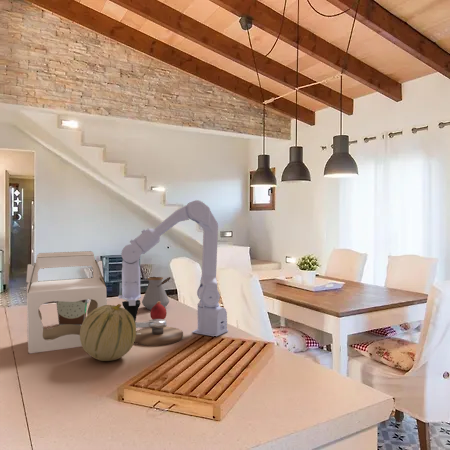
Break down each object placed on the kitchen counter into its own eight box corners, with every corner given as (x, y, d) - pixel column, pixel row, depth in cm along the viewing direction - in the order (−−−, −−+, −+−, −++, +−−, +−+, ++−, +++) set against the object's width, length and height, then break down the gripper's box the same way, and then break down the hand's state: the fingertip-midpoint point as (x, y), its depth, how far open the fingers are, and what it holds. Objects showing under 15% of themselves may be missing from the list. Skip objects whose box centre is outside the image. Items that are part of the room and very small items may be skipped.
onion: (158, 326, 145) (157, 303, 145) (147, 323, 149) (146, 301, 149) (169, 323, 150) (169, 301, 150) (158, 320, 153) (158, 299, 153)
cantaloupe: (79, 354, 116) (79, 301, 116) (132, 348, 121) (132, 297, 121) (80, 372, 102) (80, 312, 102) (140, 364, 107) (140, 307, 107)
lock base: (192, 335, 134) (192, 324, 134) (160, 348, 120) (160, 336, 120) (155, 328, 142) (155, 318, 142) (121, 340, 129) (121, 329, 129)
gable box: (27, 354, 116) (26, 255, 116) (26, 341, 128) (25, 252, 128) (107, 343, 126) (107, 252, 126) (100, 332, 138) (99, 249, 138)
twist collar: (165, 323, 134) (165, 317, 134) (167, 327, 129) (167, 321, 129) (120, 326, 131) (120, 320, 131) (120, 331, 126) (120, 324, 125)
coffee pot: (138, 307, 177) (137, 272, 177) (162, 304, 183) (162, 270, 183) (157, 317, 159) (156, 278, 159) (184, 313, 165) (183, 276, 165)
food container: (94, 321, 154) (94, 294, 153) (87, 325, 147) (87, 297, 147) (63, 320, 155) (62, 293, 155) (54, 324, 149) (54, 297, 148)
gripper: (118, 279, 138) (118, 319, 139) (118, 285, 124) (118, 330, 125) (139, 278, 140) (139, 317, 140) (142, 284, 126) (142, 328, 126)
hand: (131, 323), depth 133 cm, fingers closed
